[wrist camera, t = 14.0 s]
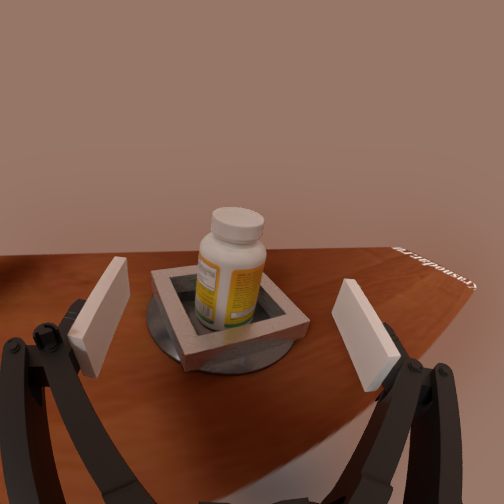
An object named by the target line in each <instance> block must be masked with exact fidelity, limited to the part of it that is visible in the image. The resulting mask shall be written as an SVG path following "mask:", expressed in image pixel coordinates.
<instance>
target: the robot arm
mask: <svg viewBox="0 0 504 504" xmlns="http://www.w3.org/2000/svg"><path fill="white" fill-rule="evenodd" d="M129 298H130V290H129V280H128V269H127V258H123V257H114V259H113V260H112V261H111V263H110V265H109V266H108V268H107V269H106V271H105V272H104V274H103V275H102V277H101V278H100V280H99V282H98V283H97V285H96V286H95V288H94V290H93V291H92V293H91V294H90V296H89V298H88V299H87V300H82V299H78V300H77V301H76V302H74V303H73V304H72V305H71V306H70V308H69V310H68V312H67V313H66V315H65V316H64V318H63V319H62V321H61V323H60V324H59V326H58V327H57V326H56V325H55V324H53V323H43V324H41V325H39V326H38V327H37V328H36V329H35V330H34V332H33V339H34V341H35V343H36V345H26V344H25V342H24V341H23V339H21V338H16V337H15V338H11V339H9V340H8V341H7V342H6V343H5V344H4V347H3V352H2V361H1V371H0V448H1V457H2V465H3V472H4V478H5V484H6V489H7V494H8V499H9V503H10V504H66V502H65V499H64V495H63V492H62V489H61V485H60V481H59V478H58V474H57V469H56V465H55V461H54V456H53V451H52V446H51V440H50V434H49V427H48V419H47V411H46V401H45V387H50V388H51V391H52V394H53V396H54V399H55V402H56V404H57V407H58V409H59V412H60V414H61V417H62V419H63V421H64V424H65V426H66V428H67V430H68V433H69V435H70V437H71V439H72V441H73V443H74V445H75V447H76V449H77V451H78V453H79V455H80V457H81V459H82V461H83V462H84V464H85V466H86V468H87V470H88V471H89V473H90V475H91V476H92V478H93V480H94V481H95V483H96V485H97V486H98V488H99V490H100V491H101V493H102V497H103V499H104V501H105V503H106V504H157V503H156V502H155V500H154V499H153V498H152V497H151V496H150V494H149V493H148V492H147V491H146V489H145V488H144V487H143V485H142V484H141V483H140V482H139V480H138V479H137V478H136V476H135V475H134V473H133V472H132V471H131V469H130V468H129V466H128V465H127V463H126V462H125V460H124V459H123V458H122V456H121V454H120V453H119V451H118V450H117V448H116V447H115V445H114V444H113V442H112V440H111V439H110V437H109V435H108V434H107V432H106V430H105V428H104V427H103V425H102V423H101V421H100V420H99V418H98V416H97V414H96V412H95V410H94V408H93V406H92V405H91V403H90V401H89V399H88V397H87V394H86V392H85V390H84V388H83V386H82V384H81V382H80V380H79V377H78V372H79V370H80V369H81V372H82V374H83V376H86V377H90V378H95V379H97V378H98V375H99V373H100V370H101V367H102V364H103V361H104V359H105V356H106V353H107V351H108V348H109V346H110V343H111V341H112V338H113V336H114V333H115V331H116V328H117V326H118V323H119V321H120V318H121V316H122V314H123V311H124V309H125V307H126V304H127V302H128V300H129ZM331 313H332V316H333V318H334V320H335V322H336V325H337V327H338V329H339V332H340V334H341V336H342V338H343V341H344V343H345V345H346V348H347V350H348V352H349V355H350V357H351V360H352V362H353V364H354V367H355V369H356V372H357V374H358V377H359V379H360V381H361V384H362V386H363V389H364V391H365V392H369V391H376V390H377V389H378V388H379V387H380V385H381V384H382V385H383V387H384V390H383V391H382V392H381V393H380V395H379V396H378V397H377V399H376V400H375V401H377V400H378V402H377V405H376V407H375V409H374V412H373V414H372V416H371V418H370V420H369V423H368V425H367V427H366V429H365V431H364V433H363V435H362V437H361V439H360V441H359V443H358V445H357V447H356V449H355V451H354V453H353V455H352V457H351V459H350V461H349V462H348V464H347V466H346V468H345V470H344V471H343V473H342V475H341V477H340V478H339V480H338V482H337V483H336V485H335V487H334V488H333V490H332V491H331V492H330V493H329V495H327V497H326V498H325V499H324V500H323V501H322V502H321V504H387V503H388V501H389V499H390V497H391V494H392V491H393V487H392V486H390V483H391V480H392V478H393V475H394V473H395V470H396V468H397V465H398V462H399V460H400V457H401V454H402V451H403V448H404V445H405V443H406V440H407V436H408V433H409V430H410V427H411V432H410V449H409V461H408V471H407V480H406V487H405V493H404V500H403V504H463V503H462V440H461V428H460V418H459V409H458V401H457V394H456V388H455V381H454V376H453V372H452V370H451V369H450V367H449V366H447V365H446V364H443V363H438V364H437V365H436V366H435V367H434V369H429V368H424V367H423V365H422V364H421V363H420V362H419V361H418V360H416V359H413V358H409V356H408V354H407V353H406V351H405V349H404V347H403V346H402V344H401V342H400V341H399V339H398V337H397V336H396V334H395V332H394V331H393V329H392V328H391V327H390V326H389V325H388V324H387V323H382V322H381V321H380V319H379V317H378V316H377V314H376V312H375V311H374V309H373V308H372V306H371V304H370V303H369V301H368V300H367V298H366V296H365V295H364V293H363V292H362V290H361V289H360V287H359V285H358V284H357V282H356V281H355V280H354V279H344V281H343V284H342V286H341V289H340V292H339V294H338V297H337V300H336V302H335V305H334V307H333V310H332V312H331ZM199 504H229V503H214V502H199ZM273 504H319V503H315V502H309V501H308V497H307V498H300V499H292V500H284V501H280V502H276V503H273Z"/></svg>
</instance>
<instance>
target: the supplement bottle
mask: <svg viewBox="0 0 504 504" xmlns="http://www.w3.org/2000/svg"><path fill="white" fill-rule="evenodd" d="M210 228H211V233H209V234H207V235H206V236H205V237H204V238H203V240H202V241H201V243H200V248H199V259H198V271H197V283H196V298H195V313H196V316H197V318H198V319H199V321H200V322H201V323H202V324H204V325H205V326H206V327H208V328H210V329H213V330H216V331H223V330H227V329H231V328H235V327H239V326H244V325H248V324H249V323H250V322H251V320H252V318H253V314H254V310H255V306H256V301H257V297H258V292H259V288H260V283H261V279H262V274H263V269H264V265H265V261H266V248H265V246H264V244H263V243H262V242H261V240H259V239H260V237H261V236H262V235H263V228H264V218H263V217H262V216H261V215H260V214H259V213H257V212H255V211H252V210H249V209H245V208H239V207H222V208H218V209H216V210H215V211H213V213H212V219H211V225H210Z"/></svg>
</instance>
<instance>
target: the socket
mask: <svg viewBox="0 0 504 504" xmlns="http://www.w3.org/2000/svg"><path fill="white" fill-rule="evenodd" d="M197 271H198V265H194V266H186V267H178V268H170V269H162V270H154V271H151V287H152V290H153V293H154V295H153V297H152V298H151V300H150V302H149V305H148V308H147V325H148V329H149V332H150V334H151V337H152V338H153V340H154V341H155V343H156V344H157V346H158V347H159V348H160V349H161V350H162V351H163V352H164V353H165V354H166V355H168V356H169V357H170V358H172V359H173V360H175V361H176V362H178V363H180V364H182V366H183V368H184V370H185V372H188V371H192V370H196V371H199V372H203V373H208V374H213V375H223V376H233V375H244V374H250V373H254V372H257V371H260V370H263V369H265V368H268V367H270V366H271V365H273V364H275V363H277V362H278V361H279V360H280V359H282V358H283V357H284V356H285V355H286V354H287V352H288V351H289V350H290V348H291V347H292V345H293V342H294V341H295V340H298V339H301V338H303V337H305V334H306V332H307V329H308V326H309V324H310V320H309V319H308V318H307V317H306V316H305V315H304V313H303V312H302V311H301V310H300V309H299V308H298V307H297V306H296V305H295V304H294V303H293V302H292V301H291V300H290V299H289V298H288V297H287V296H286V295H285V294H284V293H283V292H282V291H281V290H280V289H279V288H278V287H277V286H276V285H275V284H274V283H273V282H272V281H271V280H270V279H269V278H268V277H267V275H266V274H265V273H264V272H263V274H262V279H261V283H260V288H259V292H258V297H257V301H256V306H255V310H254V314H253V318H252V320H251V322H250V323H249V324H248V325H244V326H239V327H235V328H231V329H227V330H223V331H216V330H213V329H210V328H208V327H206V326H205V325H204V324H202V323H201V322H200V321H199V319H198V318H197V316H196V313H195V298H196V283H197Z"/></svg>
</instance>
